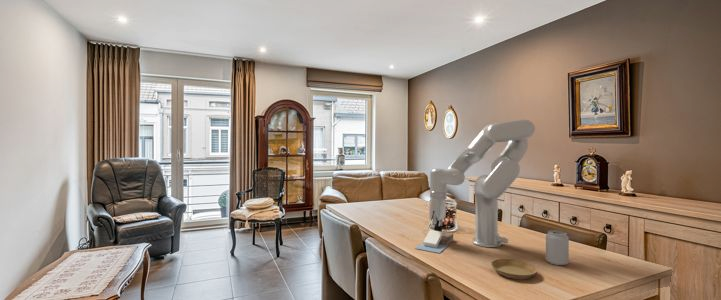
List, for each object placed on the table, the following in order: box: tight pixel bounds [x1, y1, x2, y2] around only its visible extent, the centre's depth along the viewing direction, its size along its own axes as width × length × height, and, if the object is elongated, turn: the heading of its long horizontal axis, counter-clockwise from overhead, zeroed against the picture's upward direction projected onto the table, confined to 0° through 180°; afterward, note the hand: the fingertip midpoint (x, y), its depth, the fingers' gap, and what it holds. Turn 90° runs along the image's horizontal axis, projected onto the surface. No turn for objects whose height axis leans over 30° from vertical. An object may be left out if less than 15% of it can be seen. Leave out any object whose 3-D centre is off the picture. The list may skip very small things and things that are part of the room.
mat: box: [414, 242, 449, 254], centre depth 141 cm, size 11×11×1 cm
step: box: [439, 231, 454, 245], centre depth 150 cm, size 10×10×3 cm
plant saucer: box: [490, 258, 538, 280], centre depth 113 cm, size 15×15×3 cm
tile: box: [422, 229, 443, 248], centre depth 144 cm, size 6×9×2 cm, turn 147°
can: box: [545, 229, 570, 266], centre depth 122 cm, size 8×8×12 cm
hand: (438, 233), depth 149 cm, fingers closed
